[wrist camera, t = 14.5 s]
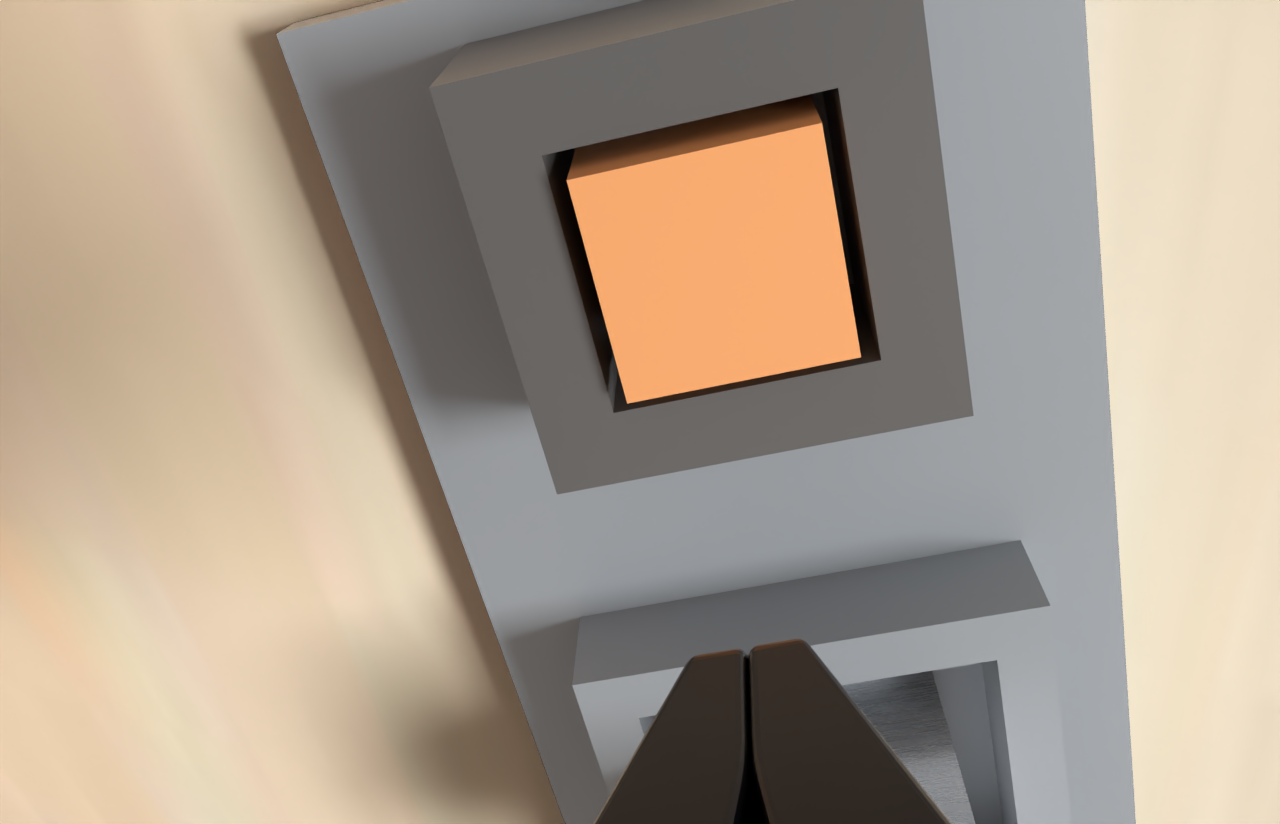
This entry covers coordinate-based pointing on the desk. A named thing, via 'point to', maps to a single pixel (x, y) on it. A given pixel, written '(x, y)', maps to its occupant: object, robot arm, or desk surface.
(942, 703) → the gray socket fixture
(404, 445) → the desk surface
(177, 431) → the desk surface
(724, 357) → the button
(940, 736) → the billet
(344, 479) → the desk surface
